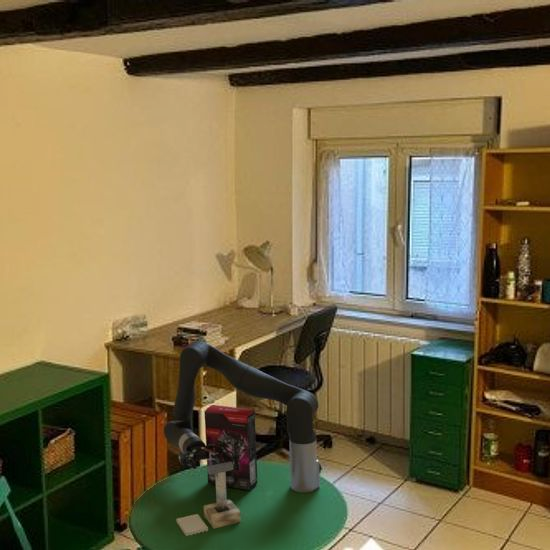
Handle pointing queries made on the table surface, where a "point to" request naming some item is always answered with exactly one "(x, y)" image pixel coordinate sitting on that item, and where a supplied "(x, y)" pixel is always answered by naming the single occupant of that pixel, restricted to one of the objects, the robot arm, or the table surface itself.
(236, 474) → the graphics card box
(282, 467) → the table surface
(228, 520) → the slot block
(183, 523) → the beige flat plate
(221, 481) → the t key
